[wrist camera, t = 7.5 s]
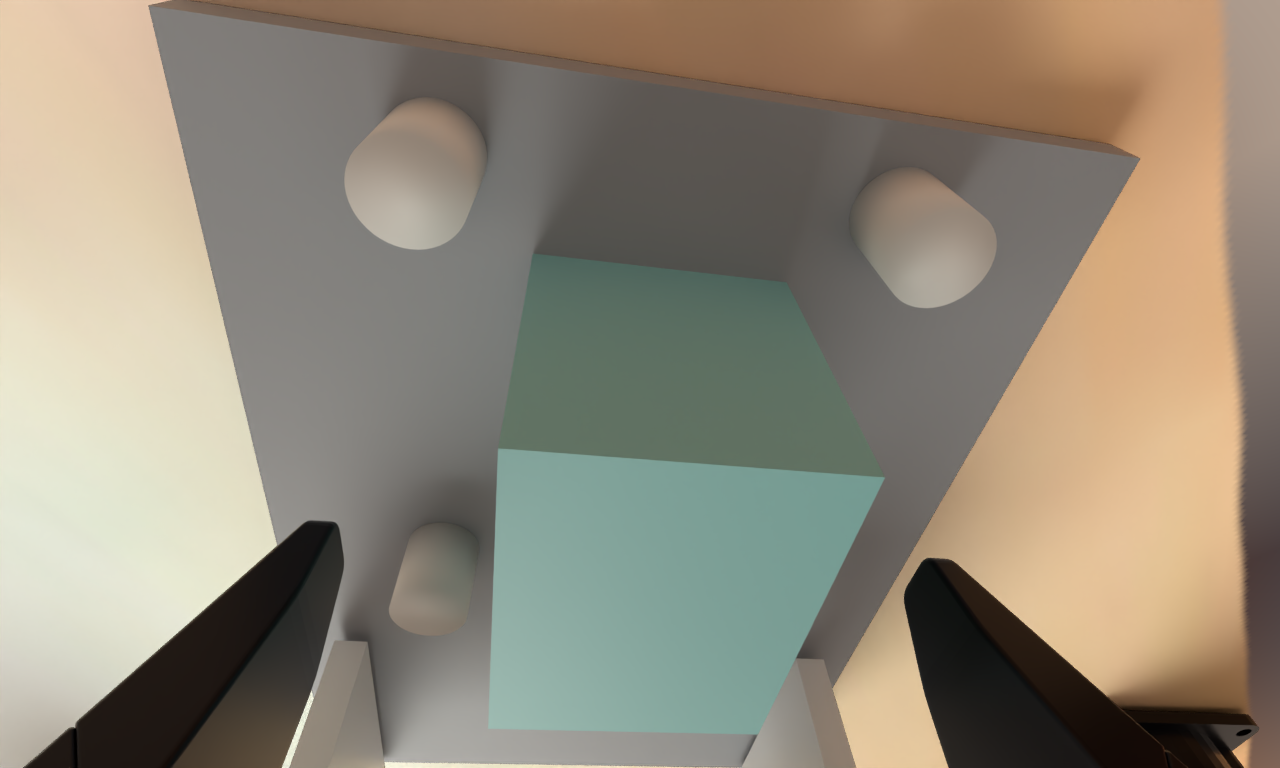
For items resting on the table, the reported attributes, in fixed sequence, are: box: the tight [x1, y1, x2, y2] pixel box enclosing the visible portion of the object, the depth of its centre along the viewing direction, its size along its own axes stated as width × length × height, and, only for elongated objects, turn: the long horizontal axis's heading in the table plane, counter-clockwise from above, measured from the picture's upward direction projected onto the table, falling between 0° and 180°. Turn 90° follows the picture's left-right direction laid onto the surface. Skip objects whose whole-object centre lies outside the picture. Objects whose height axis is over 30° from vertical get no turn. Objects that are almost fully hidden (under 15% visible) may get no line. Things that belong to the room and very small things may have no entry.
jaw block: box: [488, 254, 885, 735], centre depth 11 cm, size 4×6×5 cm
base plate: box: [149, 0, 1140, 768], centre depth 16 cm, size 15×21×3 cm
